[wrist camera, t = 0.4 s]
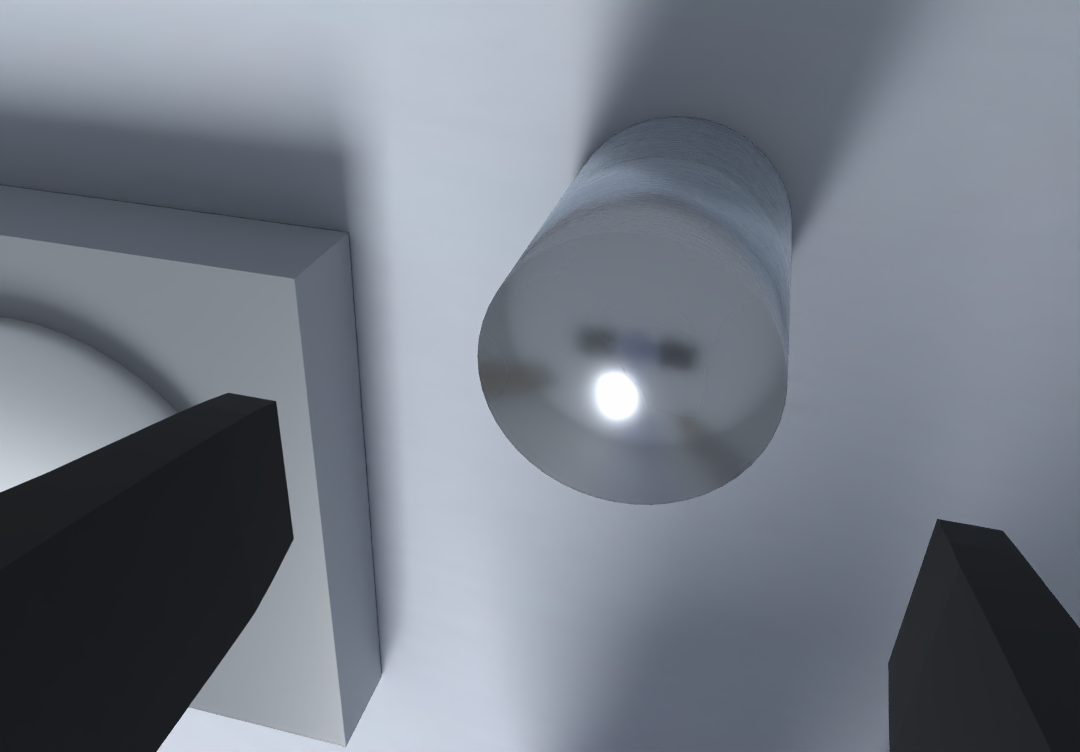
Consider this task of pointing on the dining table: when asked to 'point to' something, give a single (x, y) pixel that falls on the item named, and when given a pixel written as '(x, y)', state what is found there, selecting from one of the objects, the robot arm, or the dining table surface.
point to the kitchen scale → (192, 378)
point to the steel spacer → (648, 318)
